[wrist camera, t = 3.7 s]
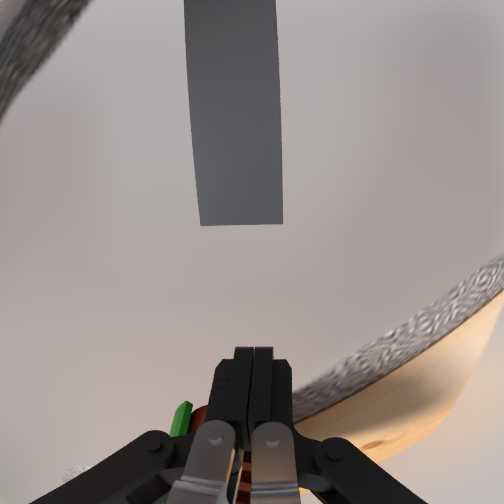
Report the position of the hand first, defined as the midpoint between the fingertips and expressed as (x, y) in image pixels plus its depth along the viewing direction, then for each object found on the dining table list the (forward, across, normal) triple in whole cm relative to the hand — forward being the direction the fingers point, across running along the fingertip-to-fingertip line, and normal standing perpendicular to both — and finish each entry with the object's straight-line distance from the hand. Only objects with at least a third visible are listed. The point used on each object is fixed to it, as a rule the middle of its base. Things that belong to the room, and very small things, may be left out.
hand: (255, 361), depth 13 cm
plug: (+6, 0, -13) cm, 14 cm away
